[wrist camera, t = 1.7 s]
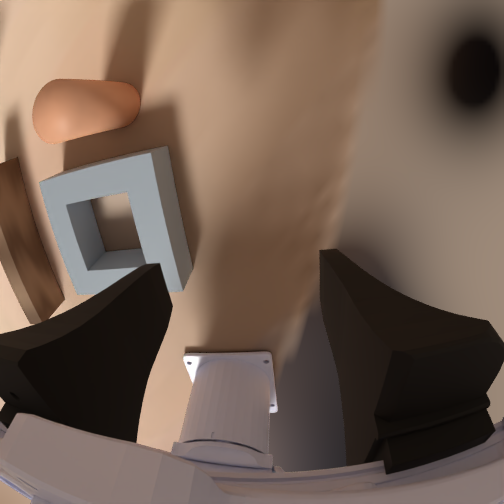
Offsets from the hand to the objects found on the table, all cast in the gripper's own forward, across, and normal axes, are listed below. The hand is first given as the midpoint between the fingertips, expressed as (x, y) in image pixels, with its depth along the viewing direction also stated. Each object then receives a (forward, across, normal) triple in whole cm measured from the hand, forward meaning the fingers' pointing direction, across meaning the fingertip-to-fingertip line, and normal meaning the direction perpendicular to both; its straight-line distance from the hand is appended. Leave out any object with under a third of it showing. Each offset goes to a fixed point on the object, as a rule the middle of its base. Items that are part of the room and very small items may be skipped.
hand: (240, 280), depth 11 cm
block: (+9, +10, 0) cm, 13 cm away
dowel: (+9, +8, -8) cm, 15 cm away
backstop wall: (+9, +20, 0) cm, 22 cm away
